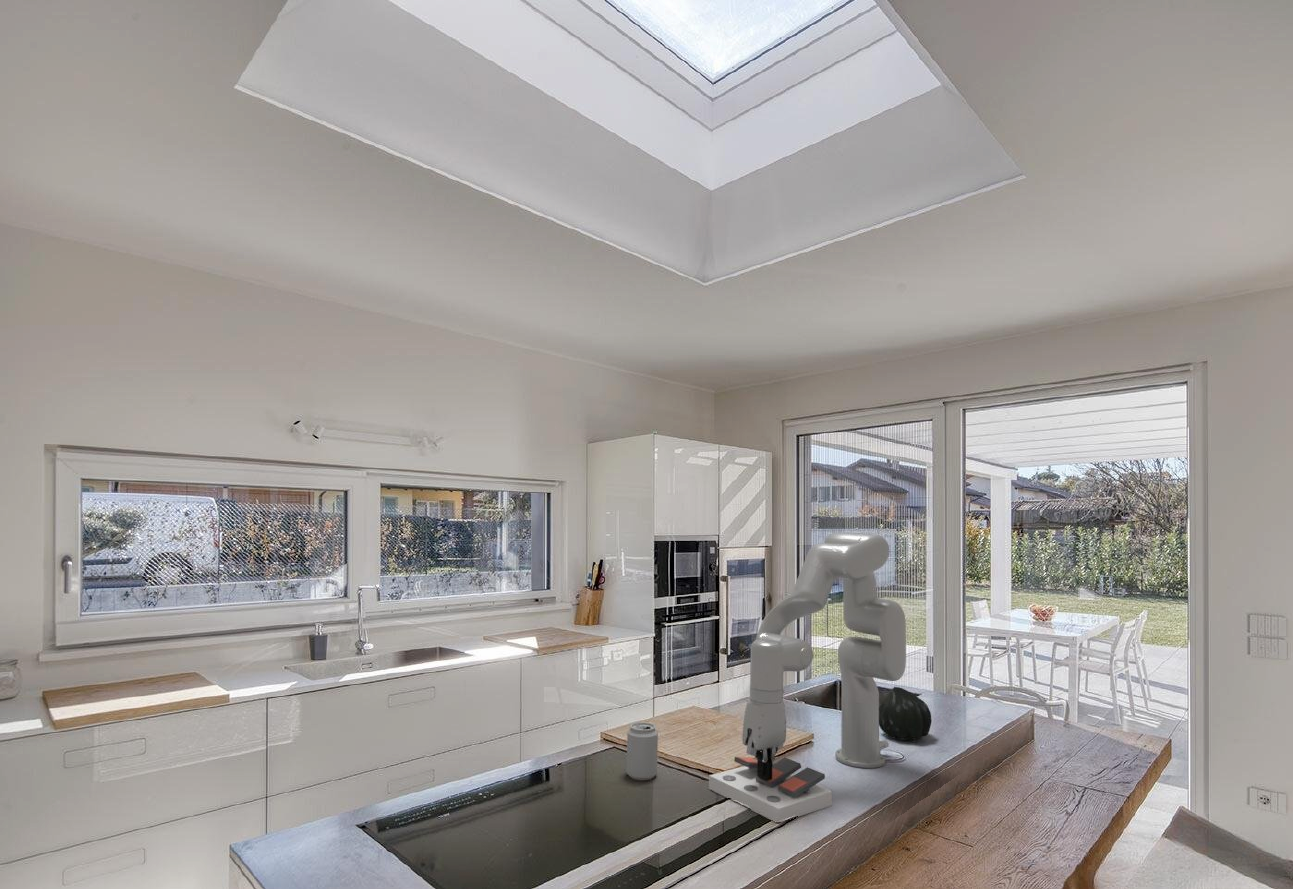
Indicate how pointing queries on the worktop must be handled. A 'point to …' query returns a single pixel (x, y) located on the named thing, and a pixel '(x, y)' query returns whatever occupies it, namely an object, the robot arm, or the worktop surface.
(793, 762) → the rocker middle
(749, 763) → the rocker
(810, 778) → the rocker
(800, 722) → the worktop surface
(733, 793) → the rocker switch panel
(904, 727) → the squash
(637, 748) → the can
